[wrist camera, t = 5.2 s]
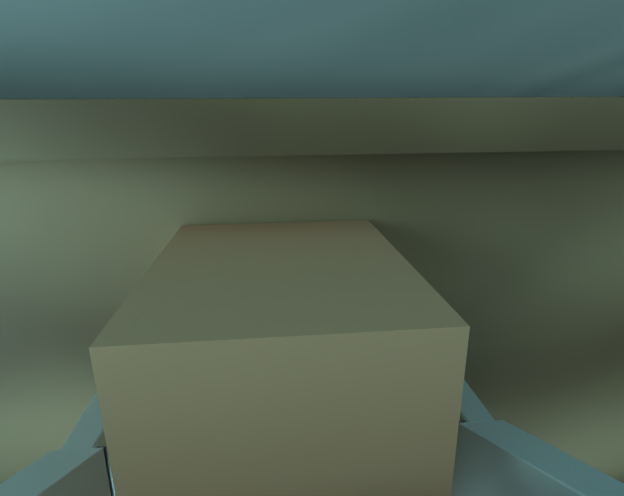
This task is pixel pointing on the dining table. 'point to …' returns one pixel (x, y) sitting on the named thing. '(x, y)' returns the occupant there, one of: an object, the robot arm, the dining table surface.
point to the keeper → (281, 368)
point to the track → (327, 207)
